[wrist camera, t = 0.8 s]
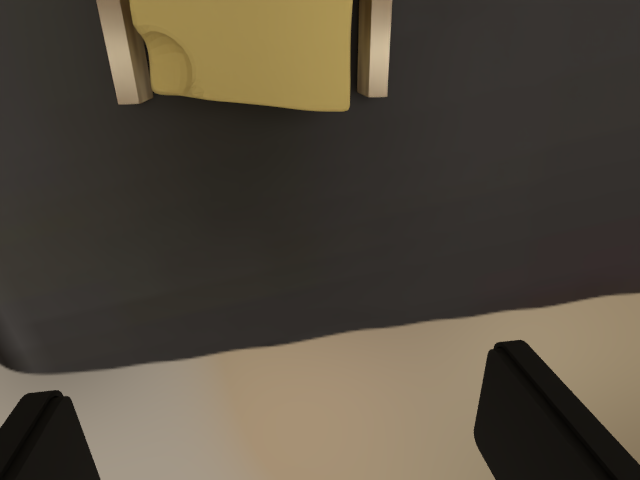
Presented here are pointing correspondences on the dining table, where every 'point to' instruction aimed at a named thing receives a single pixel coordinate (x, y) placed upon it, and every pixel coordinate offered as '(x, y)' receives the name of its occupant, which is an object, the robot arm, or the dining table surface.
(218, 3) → the cheese
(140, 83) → the track
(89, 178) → the dining table surface
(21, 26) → the dining table surface
